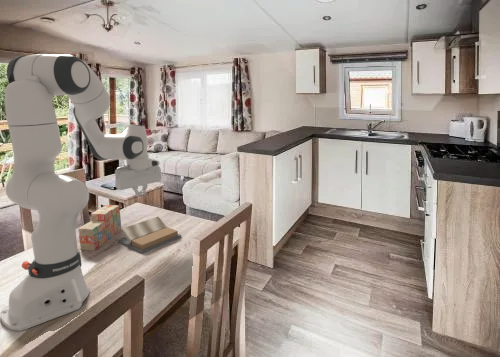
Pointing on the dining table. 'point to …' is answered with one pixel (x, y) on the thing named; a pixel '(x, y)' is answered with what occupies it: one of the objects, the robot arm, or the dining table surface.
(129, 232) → the ash plank
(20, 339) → the dining table surface
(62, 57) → the robot arm
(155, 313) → the dining table surface
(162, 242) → the board
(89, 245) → the stack of blocks
